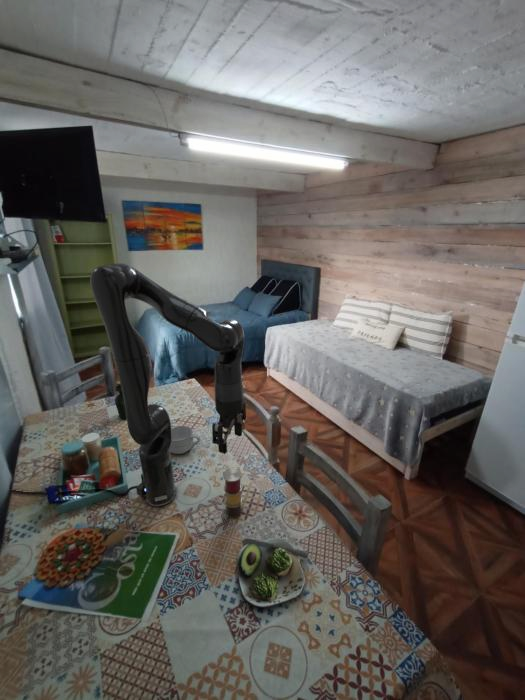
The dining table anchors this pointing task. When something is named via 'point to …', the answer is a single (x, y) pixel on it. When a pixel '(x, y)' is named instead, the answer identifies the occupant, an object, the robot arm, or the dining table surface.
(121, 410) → the potion bottle
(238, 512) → the base pod
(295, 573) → the salad plate
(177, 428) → the teacup
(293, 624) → the dining table surface
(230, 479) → the burgundy pod
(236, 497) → the gold pod
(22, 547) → the dining table surface
